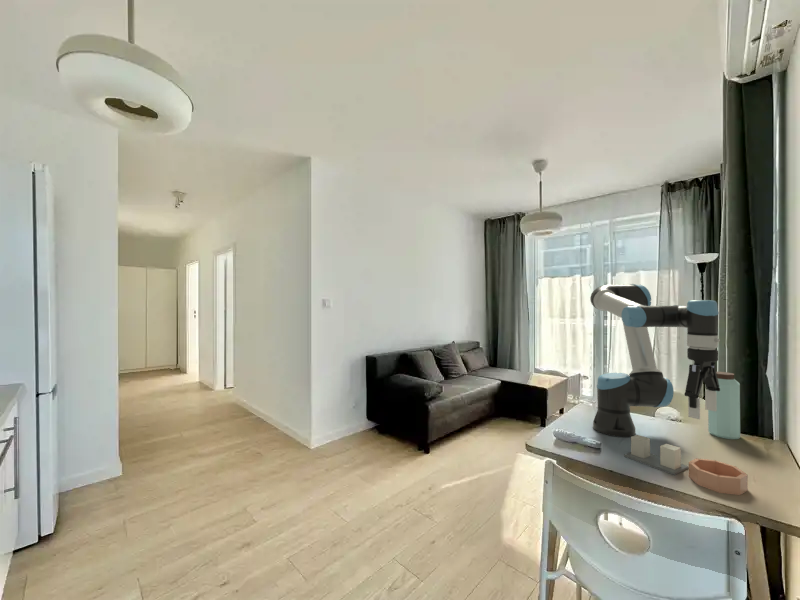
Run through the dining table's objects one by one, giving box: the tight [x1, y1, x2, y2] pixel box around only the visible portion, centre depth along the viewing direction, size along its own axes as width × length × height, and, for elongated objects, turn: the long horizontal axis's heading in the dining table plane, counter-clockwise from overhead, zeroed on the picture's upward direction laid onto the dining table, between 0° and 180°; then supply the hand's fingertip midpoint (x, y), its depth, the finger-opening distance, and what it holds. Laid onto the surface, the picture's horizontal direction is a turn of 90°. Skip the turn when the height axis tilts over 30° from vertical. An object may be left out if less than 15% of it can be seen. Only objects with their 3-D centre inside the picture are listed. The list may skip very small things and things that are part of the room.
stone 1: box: [630, 434, 651, 458], centre depth 122 cm, size 4×4×6 cm
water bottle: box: [707, 371, 741, 440], centre depth 140 cm, size 10×10×25 cm
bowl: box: [688, 458, 749, 496], centre depth 105 cm, size 12×12×4 cm
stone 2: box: [659, 443, 682, 470], centre depth 114 cm, size 4×4×6 cm
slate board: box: [623, 451, 689, 476], centre depth 118 cm, size 15×9×1 cm, turn 29°
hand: (702, 414), depth 113 cm, fingers open, 13 cm apart
